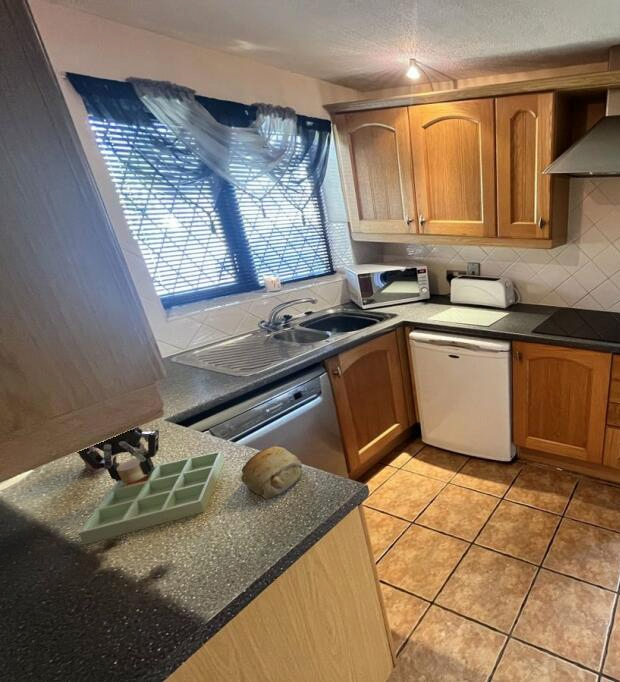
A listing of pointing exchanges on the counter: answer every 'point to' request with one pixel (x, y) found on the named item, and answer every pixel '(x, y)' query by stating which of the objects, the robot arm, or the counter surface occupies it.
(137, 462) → the beige short cylinder
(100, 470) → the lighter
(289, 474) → the pastry
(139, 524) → the grid
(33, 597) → the counter surface
